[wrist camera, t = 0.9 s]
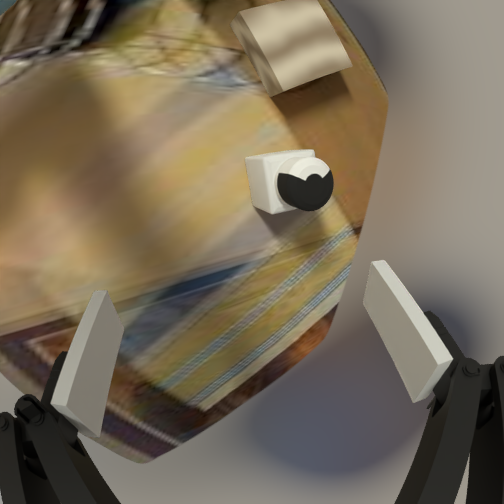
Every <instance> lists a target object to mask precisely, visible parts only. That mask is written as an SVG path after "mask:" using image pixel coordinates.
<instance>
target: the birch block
mask: <svg viewBox="0 0 504 504" xmlns="http://www.w3.org/2000/svg"><path fill="white" fill-rule="evenodd" d="M230 26H231V28H232V30H233V31H234V33H235V35H236V36H237V38H238V40H239V42H240V43H241V45H242V47H243V49H244V50H245V52H246V54H247V56H248V57H249V59H250V61H251V63H252V65H253V66H254V68H255V70H256V72H257V74H258V76H259V77H260V79H261V81H262V83H263V85H264V87H265V89H266V91H267V93H268V94H269V96H270V97H272V96H275V95H277V94H279V93H282V92H284V91H286V90H289V89H291V88H294V87H296V86H299V85H301V84H304V83H307V82H309V81H312V80H315V79H317V78H320V77H323V76H326V75H328V74H331V73H334V72H337V71H340V70H343V69H346V68H349V67H352V64H351V61H350V59H349V57H348V55H347V53H346V51H345V49H344V47H343V45H342V43H341V41H340V40H339V38H338V36H337V34H336V32H335V30H334V28H333V27H332V25H331V23H330V21H329V19H328V18H327V16H326V14H325V13H324V11H323V9H322V8H321V6H320V4H319V3H318V1H317V0H285V1H280V2H276V3H271V4H267V5H262V6H258V7H254V8H250V9H247V10H243V11H239V12H238V14H237V15H236V16H235V18H234V19H233V21H232V22H231V23H230Z"/></svg>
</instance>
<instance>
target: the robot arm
mask: <svg viewBox="0 0 504 504" xmlns="http://www.w3.org/2000/svg"><path fill="white" fill-rule="evenodd" d="M15 2H16V0H0V15H2V14H3V13H4V12H5V11H6V10H7V9H9V8H10V7H11V6H12V5H13V4H14V3H15ZM363 304H364V306H365V308H366V310H367V311H368V313H369V315H370V317H371V319H372V321H373V323H374V325H375V326H376V328H377V330H378V332H379V334H380V336H381V338H382V340H383V342H384V344H385V346H386V348H387V349H388V352H389V353H390V355H391V357H392V359H393V361H394V363H395V365H396V368H397V369H398V372H399V374H400V375H401V378H402V380H403V382H404V384H405V386H406V388H407V390H408V393H409V395H410V397H411V399H412V401H413V403H414V402H416V401H420V400H422V399H425V398H427V397H428V396H429V395H430V393H431V392H432V390H433V392H434V394H435V395H436V396H435V397H434V398H433V400H432V401H431V402H430V403H429V405H428V407H427V409H429V408H430V407H431V409H430V413H429V416H428V420H427V423H426V426H425V429H424V432H423V435H422V438H421V441H420V445H419V447H418V450H417V452H416V455H415V458H414V461H413V463H412V466H411V468H410V470H409V473H408V475H407V477H406V480H405V482H404V484H403V487H402V489H401V491H400V493H399V495H398V497H397V499H396V501H395V504H454V502H455V499H456V496H457V493H458V490H459V487H460V484H461V481H462V478H463V475H464V471H465V467H466V464H467V461H468V457H469V453H470V461H469V478H468V488H467V497H466V504H504V356H500V357H498V358H497V359H496V361H495V362H494V364H485V365H480V364H479V363H478V362H477V361H475V360H473V359H471V358H465V356H464V355H463V353H462V352H461V350H460V349H459V347H458V346H457V344H456V343H455V341H454V340H453V338H452V337H451V335H450V334H449V333H448V331H447V329H446V328H445V327H444V325H443V323H442V322H441V321H440V319H439V318H438V317H437V316H436V315H435V314H433V313H432V312H431V311H427V312H422V310H421V309H420V308H419V306H418V305H417V303H416V302H415V301H414V299H413V298H412V296H411V295H410V294H409V292H408V291H407V289H406V288H405V287H404V285H403V284H402V283H401V281H400V280H399V279H398V277H397V276H396V275H395V273H394V272H393V271H392V269H391V268H390V267H389V265H388V264H387V263H386V262H385V260H380V261H373V262H371V266H370V272H369V277H368V282H367V287H366V291H365V296H364V300H363ZM123 332H124V327H123V325H122V323H121V321H120V319H119V316H118V314H117V312H116V310H115V307H114V305H113V303H112V301H111V298H110V296H109V294H108V291H107V290H100V291H94V292H93V295H92V297H91V299H90V301H89V303H88V306H87V308H86V310H85V312H84V315H83V317H82V319H81V322H80V324H79V326H78V329H77V331H76V334H75V336H74V338H73V341H72V343H71V346H70V349H69V351H68V352H64V351H62V352H61V354H60V355H59V356H58V357H57V359H56V360H55V363H54V365H53V368H52V371H51V373H50V376H49V377H50V378H49V379H48V381H47V384H46V387H45V390H44V393H43V396H42V399H41V402H40V401H39V400H38V399H37V398H36V397H35V396H33V395H32V394H26V395H24V396H22V397H21V398H20V399H18V401H17V403H16V404H15V408H14V410H15V411H14V412H15V415H16V416H17V418H14V417H13V416H12V415H11V414H10V413H8V412H2V413H0V491H1V496H2V501H3V504H121V503H120V502H119V501H118V499H117V498H116V496H115V495H114V493H113V492H112V491H111V489H110V488H109V486H108V485H107V483H106V482H105V480H104V479H103V477H102V476H101V474H100V473H99V471H98V469H97V468H96V466H95V465H94V463H93V461H92V460H91V458H90V456H89V455H88V453H87V451H86V449H85V448H84V446H83V444H82V442H81V440H80V439H79V438H78V437H77V433H78V430H79V431H80V432H81V433H82V434H83V435H84V436H89V437H96V438H100V432H101V427H102V421H103V416H104V411H105V406H106V401H107V397H108V392H109V388H110V383H111V379H112V375H113V370H114V366H115V362H116V358H117V355H118V351H119V347H120V343H121V339H122V336H123ZM431 405H432V406H431ZM60 502H61V503H60Z"/></svg>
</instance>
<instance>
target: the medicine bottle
mask: <svg viewBox="0 0 504 504" xmlns="http://www.w3.org/2000/svg"><path fill="white" fill-rule="evenodd" d="M245 163H246V169H247V175H248V181H249V187H250V192H251V198H252V204H253V206H254V207H257V208H259V209H261V210H263V211H266V212H268V213H270V214H277V213H281V212H285V211H290V210H294V209H301V210H304V211H314V210H317V209H320V208H321V207H323V206H324V205H325V204H326V203H327V202H328V200H329V199H330V197H331V194H332V191H333V184H334V182H333V176H332V173H331V170H330V168H329V167H328V166H327V164H326V163H324V162H323V161H322V160H320V159H318V158H315V153H314V151H313V150H287V151H280V152H274V153H267V154H261V155H255V156H250V157H246V158H245Z"/></svg>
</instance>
